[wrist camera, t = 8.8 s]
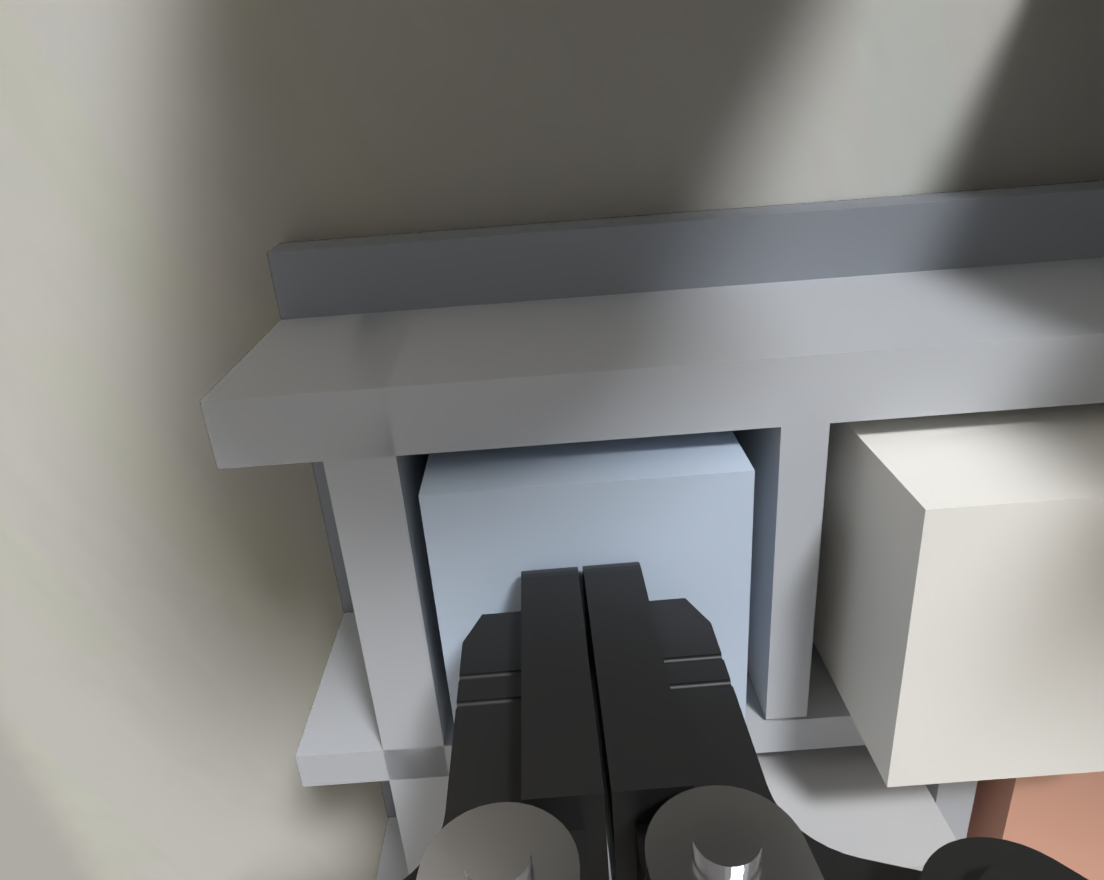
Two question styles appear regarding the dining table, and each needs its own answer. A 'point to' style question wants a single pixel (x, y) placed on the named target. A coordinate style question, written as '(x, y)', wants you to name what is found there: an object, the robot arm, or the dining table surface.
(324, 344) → the keypad board
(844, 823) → the key grey
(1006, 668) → the key ivory
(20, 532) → the dining table surface
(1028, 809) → the key terracotta
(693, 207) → the dining table surface
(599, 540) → the key blue
